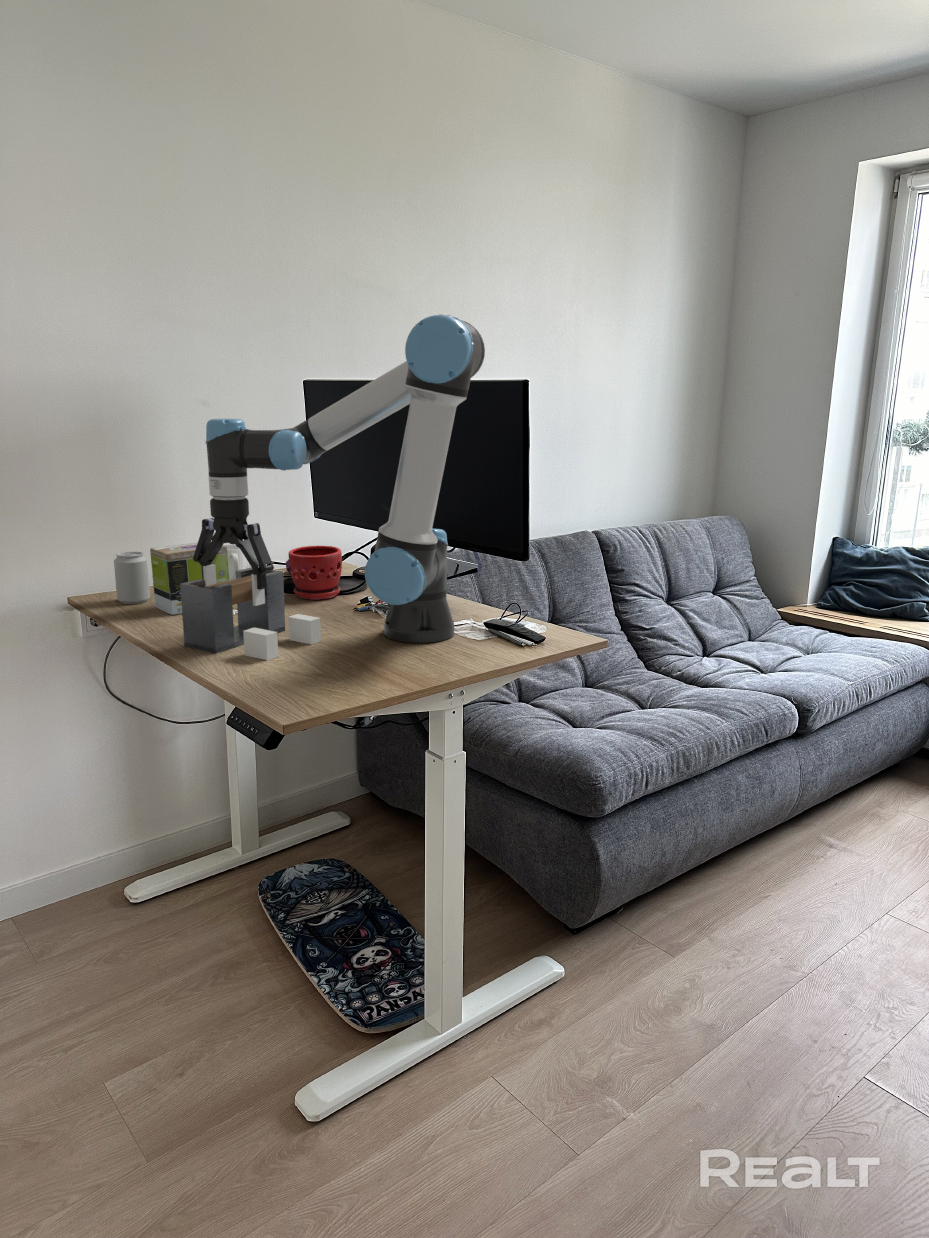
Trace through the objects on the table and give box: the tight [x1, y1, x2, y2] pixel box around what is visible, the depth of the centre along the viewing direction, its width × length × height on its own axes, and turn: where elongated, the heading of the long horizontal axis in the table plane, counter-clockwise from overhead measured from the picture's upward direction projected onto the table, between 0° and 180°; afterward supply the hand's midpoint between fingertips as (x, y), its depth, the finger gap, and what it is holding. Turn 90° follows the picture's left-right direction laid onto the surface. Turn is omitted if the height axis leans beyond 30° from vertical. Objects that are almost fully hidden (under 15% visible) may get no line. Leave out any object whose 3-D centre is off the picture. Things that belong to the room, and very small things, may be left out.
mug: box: [223, 544, 247, 581], centre depth 227 cm, size 12×8×10 cm, turn 26°
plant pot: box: [288, 545, 343, 601], centre depth 219 cm, size 13×13×12 cm
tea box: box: [149, 542, 229, 616], centre depth 206 cm, size 15×10×15 cm
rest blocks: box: [243, 613, 322, 661], centre depth 176 cm, size 6×16×5 cm, turn 150°
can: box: [113, 551, 151, 605], centre depth 211 cm, size 8×8×12 cm
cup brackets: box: [180, 566, 286, 654], centre depth 181 cm, size 9×20×13 cm, turn 150°
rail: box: [204, 575, 253, 606], centre depth 180 cm, size 4×16×4 cm, turn 150°
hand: (234, 600), depth 181 cm, fingers open, 13 cm apart
